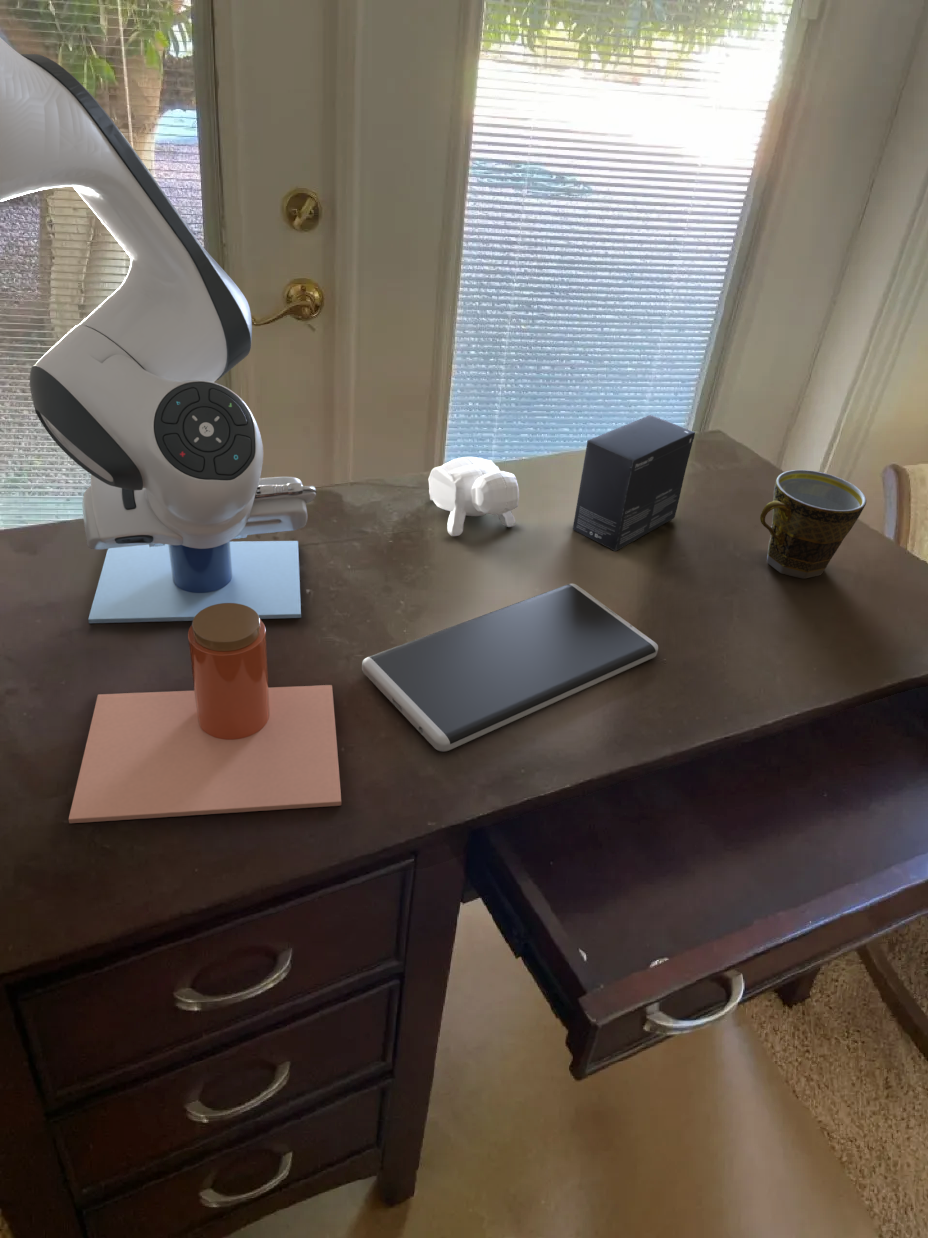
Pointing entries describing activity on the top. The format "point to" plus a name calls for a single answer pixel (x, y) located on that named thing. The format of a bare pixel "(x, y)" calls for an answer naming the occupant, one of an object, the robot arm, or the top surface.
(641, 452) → the small box
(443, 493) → the white sheep figurine
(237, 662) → the terracotta jar
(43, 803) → the top surface
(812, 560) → the ceramic cup
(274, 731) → the clay mat
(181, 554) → the blue jar
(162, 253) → the robot arm
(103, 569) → the blue mat
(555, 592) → the smartphone
